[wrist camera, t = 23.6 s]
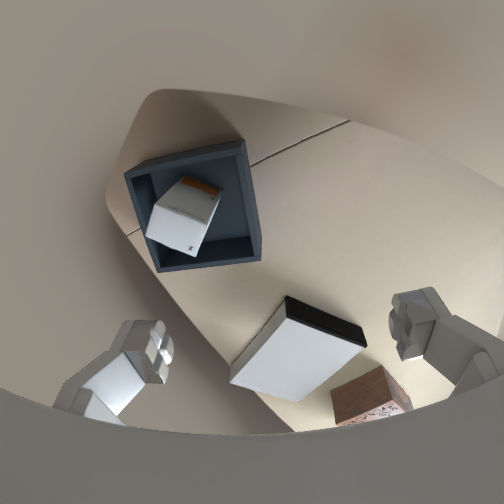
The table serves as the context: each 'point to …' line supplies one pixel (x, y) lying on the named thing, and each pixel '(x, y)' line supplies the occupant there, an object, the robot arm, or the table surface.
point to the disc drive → (296, 351)
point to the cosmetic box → (184, 215)
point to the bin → (227, 212)
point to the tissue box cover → (369, 398)
